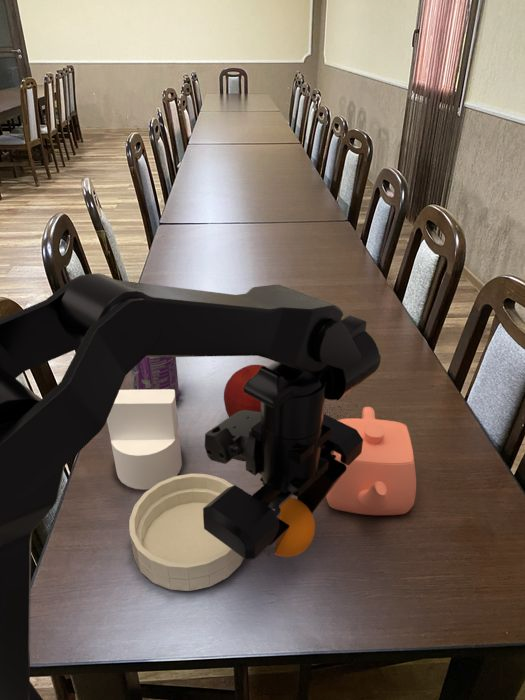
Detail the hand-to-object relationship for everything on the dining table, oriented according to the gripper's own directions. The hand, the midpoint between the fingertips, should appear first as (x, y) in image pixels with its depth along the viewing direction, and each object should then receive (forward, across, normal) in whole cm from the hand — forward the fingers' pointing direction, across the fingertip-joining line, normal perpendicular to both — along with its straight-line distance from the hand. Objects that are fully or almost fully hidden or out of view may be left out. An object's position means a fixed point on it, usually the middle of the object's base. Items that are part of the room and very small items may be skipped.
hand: (286, 534), depth 57 cm
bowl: (+6, +4, -11) cm, 13 cm away
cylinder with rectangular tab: (+6, -1, -25) cm, 26 cm away
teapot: (+6, -16, +1) cm, 17 cm away
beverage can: (+6, -12, -36) cm, 39 cm away
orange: (+2, 0, 0) cm, 2 cm away
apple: (+6, -17, -19) cm, 26 cm away
